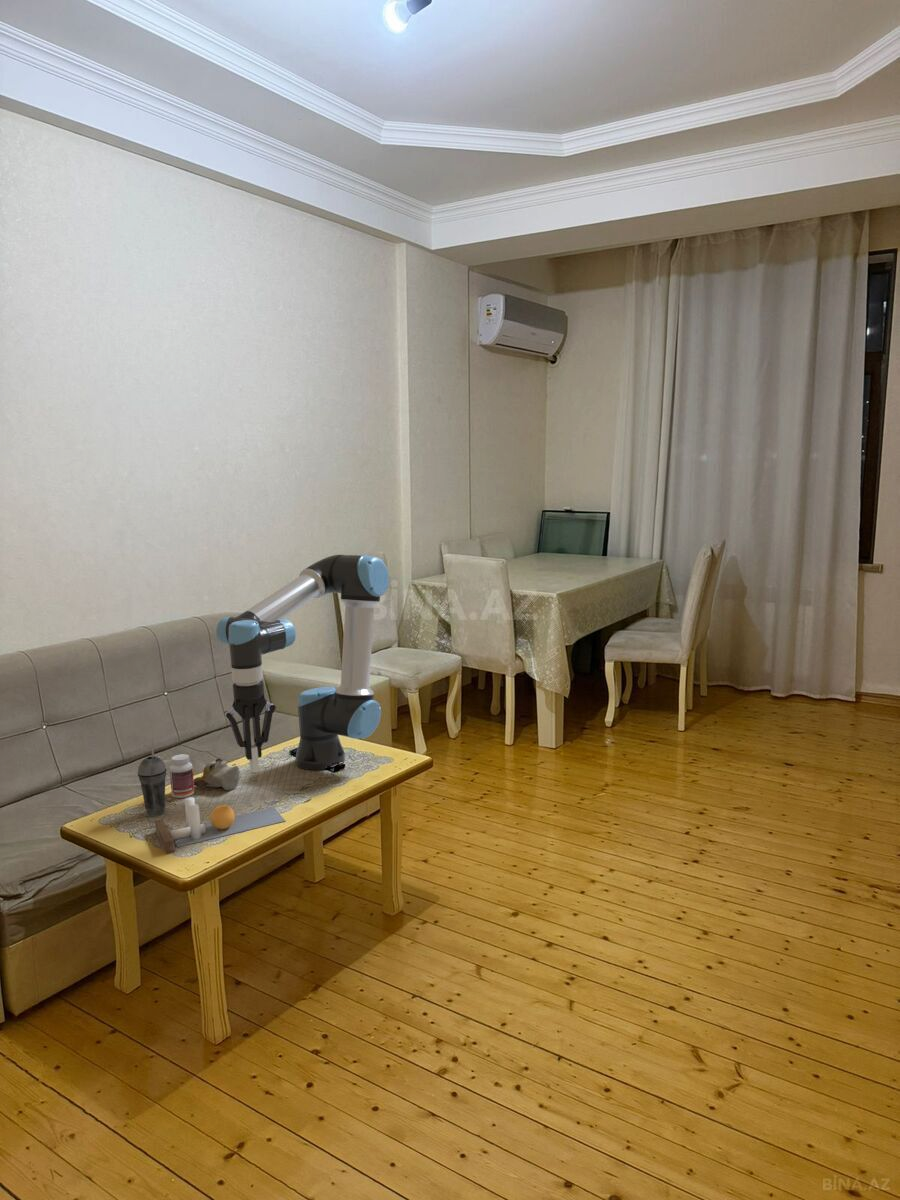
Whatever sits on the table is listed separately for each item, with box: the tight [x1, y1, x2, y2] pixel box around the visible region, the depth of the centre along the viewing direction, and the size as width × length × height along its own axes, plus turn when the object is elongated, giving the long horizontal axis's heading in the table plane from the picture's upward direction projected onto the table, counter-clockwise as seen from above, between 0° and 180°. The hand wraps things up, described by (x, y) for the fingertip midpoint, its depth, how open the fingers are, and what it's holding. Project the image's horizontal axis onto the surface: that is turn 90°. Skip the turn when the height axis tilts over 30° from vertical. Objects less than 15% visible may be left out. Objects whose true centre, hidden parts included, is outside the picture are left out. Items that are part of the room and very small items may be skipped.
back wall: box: [154, 818, 176, 855], centre depth 196 cm, size 2×14×3 cm, turn 30°
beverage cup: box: [137, 739, 167, 817], centre depth 212 cm, size 7×7×20 cm
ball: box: [209, 804, 236, 830], centre depth 203 cm, size 6×6×6 cm
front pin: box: [169, 822, 206, 840], centre depth 199 cm, size 2×2×8 cm
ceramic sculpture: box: [194, 758, 241, 791], centre depth 230 cm, size 11×9×15 cm
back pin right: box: [184, 796, 196, 827], centre depth 201 cm, size 2×2×8 cm
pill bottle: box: [169, 753, 195, 799], centre depth 225 cm, size 6×6×11 cm
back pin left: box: [189, 803, 201, 840], centre depth 197 cm, size 2×2×8 cm
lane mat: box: [174, 806, 286, 848], centre depth 204 cm, size 27×10×1 cm, turn 120°
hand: (254, 770), depth 206 cm, fingers closed
